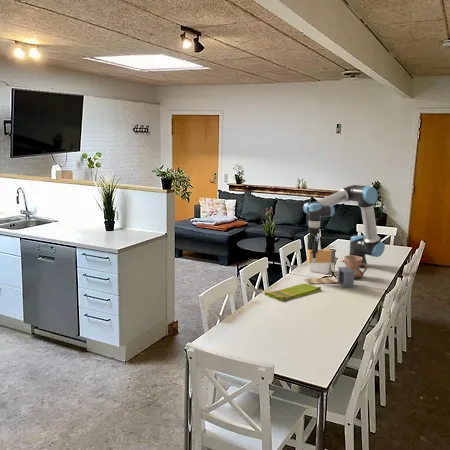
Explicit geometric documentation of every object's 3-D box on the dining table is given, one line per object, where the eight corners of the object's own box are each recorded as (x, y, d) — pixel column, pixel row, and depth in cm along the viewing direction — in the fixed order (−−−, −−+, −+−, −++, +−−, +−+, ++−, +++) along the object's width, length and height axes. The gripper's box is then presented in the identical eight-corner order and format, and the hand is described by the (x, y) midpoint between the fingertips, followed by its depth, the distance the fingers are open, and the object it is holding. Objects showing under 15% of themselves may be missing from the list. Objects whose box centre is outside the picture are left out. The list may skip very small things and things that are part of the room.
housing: (345, 282, 308) (347, 265, 306) (353, 287, 298) (354, 270, 296) (337, 283, 307) (338, 266, 304) (344, 288, 296) (345, 270, 294)
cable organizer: (333, 271, 334) (334, 256, 332) (328, 275, 325) (329, 259, 323) (313, 268, 342) (314, 253, 339) (307, 271, 333) (308, 255, 331)
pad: (331, 278, 316) (331, 277, 316) (337, 283, 306) (337, 282, 306) (303, 279, 312) (303, 278, 312) (309, 284, 302) (309, 283, 302)
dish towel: (263, 295, 279) (263, 290, 279) (303, 285, 302) (303, 280, 301) (281, 302, 268) (282, 297, 267) (321, 291, 290) (322, 286, 289)
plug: (331, 260, 310) (332, 249, 309) (334, 262, 306) (335, 250, 305) (306, 261, 307) (307, 249, 305) (309, 263, 302) (309, 251, 301)
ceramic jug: (336, 277, 319) (338, 257, 316) (341, 272, 332) (343, 253, 329) (363, 282, 311) (365, 262, 308) (367, 276, 324) (369, 257, 321)
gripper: (303, 224, 308) (301, 258, 312) (313, 229, 292) (311, 265, 296) (314, 224, 310) (312, 258, 314) (324, 229, 293) (322, 264, 298)
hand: (311, 261), depth 305 cm, fingers closed on plug, 4 cm apart
